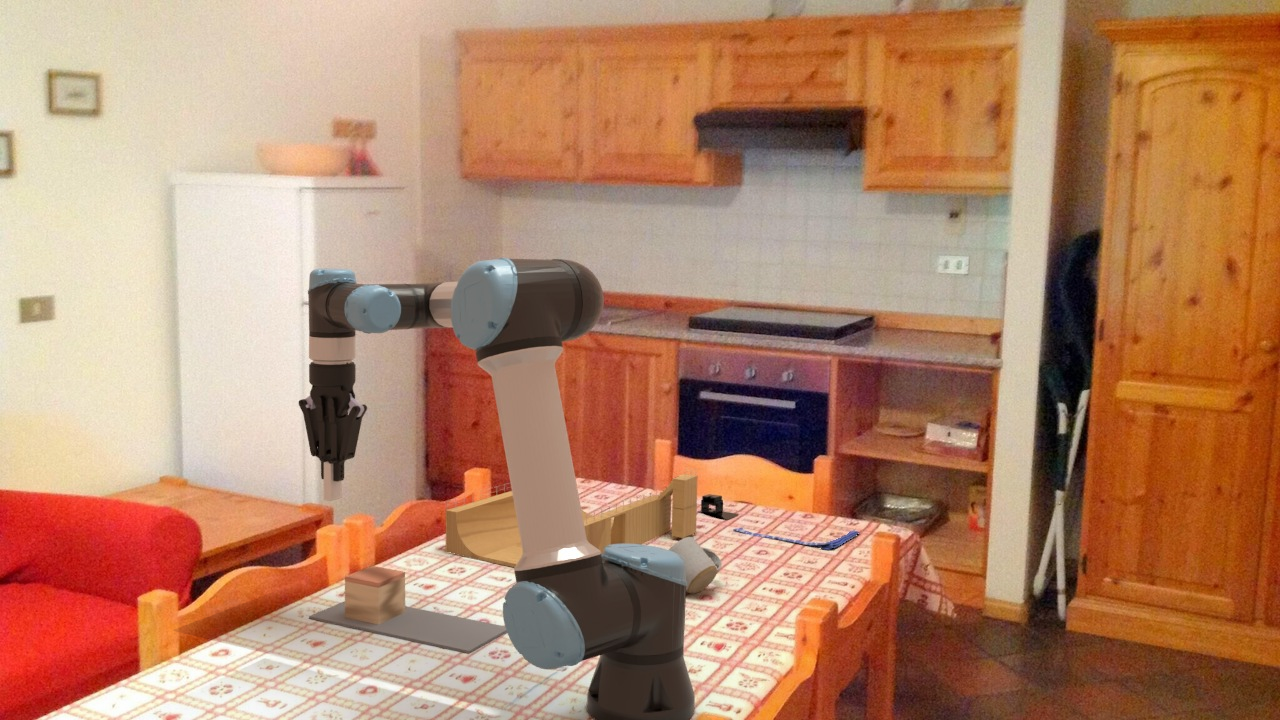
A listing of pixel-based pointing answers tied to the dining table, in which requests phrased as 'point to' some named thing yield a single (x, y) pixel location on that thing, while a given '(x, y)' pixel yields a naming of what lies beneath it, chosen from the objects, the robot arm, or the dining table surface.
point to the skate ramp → (497, 539)
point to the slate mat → (422, 627)
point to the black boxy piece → (718, 503)
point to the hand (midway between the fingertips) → (332, 498)
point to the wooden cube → (374, 594)
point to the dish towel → (819, 545)
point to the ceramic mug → (697, 564)
